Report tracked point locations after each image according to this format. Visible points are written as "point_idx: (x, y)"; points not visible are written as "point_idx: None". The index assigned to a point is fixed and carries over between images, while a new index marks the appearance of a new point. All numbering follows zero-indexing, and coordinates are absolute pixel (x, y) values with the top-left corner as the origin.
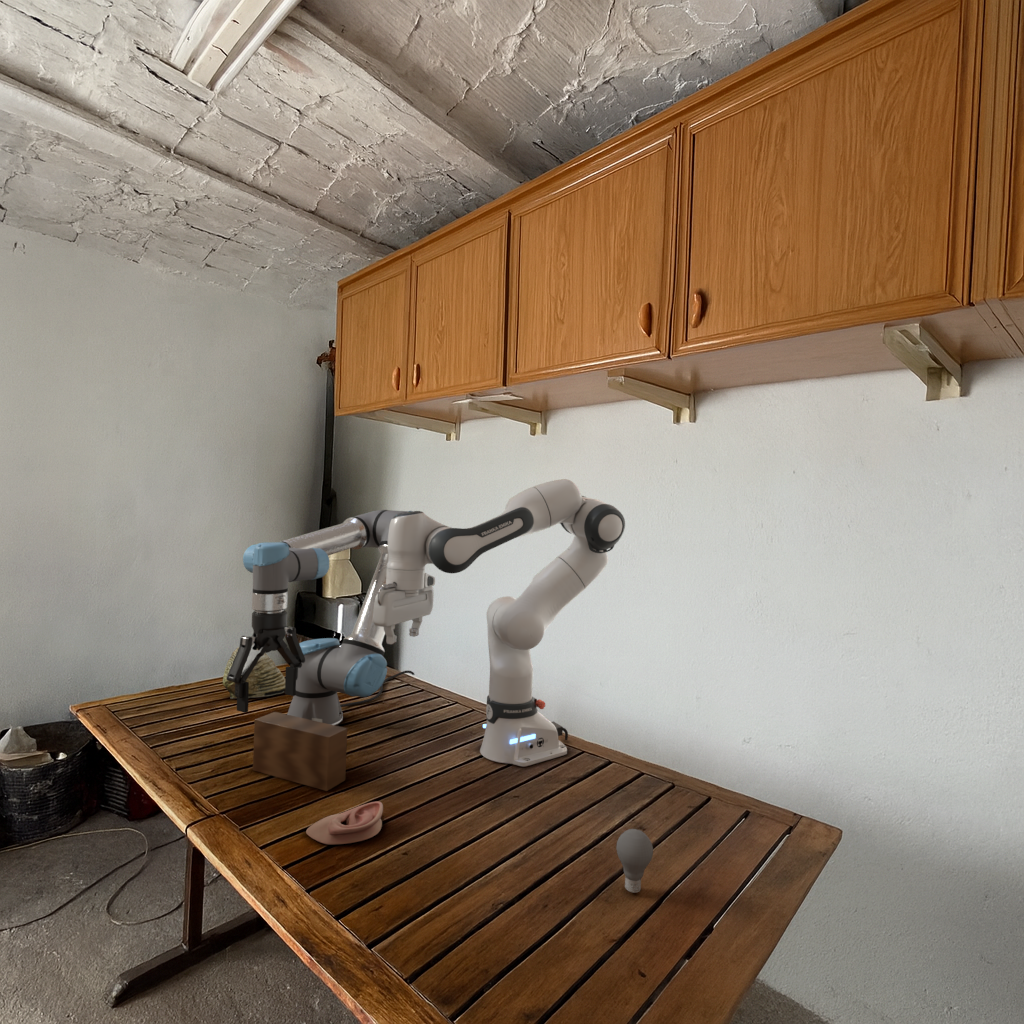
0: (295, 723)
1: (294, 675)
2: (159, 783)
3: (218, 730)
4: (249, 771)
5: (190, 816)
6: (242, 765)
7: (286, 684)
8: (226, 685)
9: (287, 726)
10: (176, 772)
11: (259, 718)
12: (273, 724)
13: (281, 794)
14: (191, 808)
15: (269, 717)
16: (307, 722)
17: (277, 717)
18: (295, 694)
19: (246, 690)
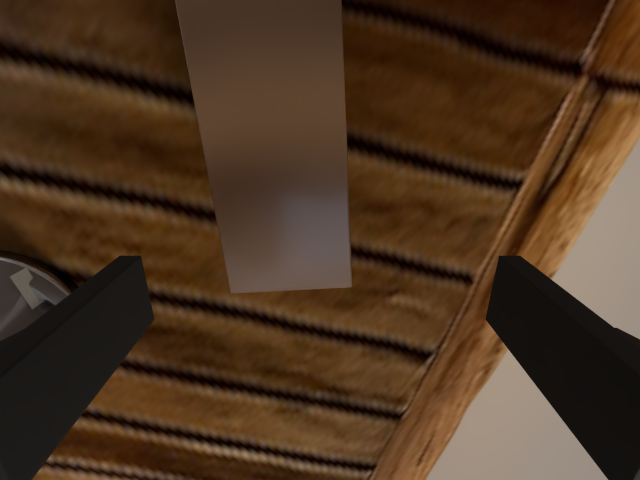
0: (277, 82)
1: (26, 344)
2: None
3: (229, 446)
4: None
5: (620, 128)
6: None
7: (118, 352)
8: None
9: (334, 83)
10: (440, 345)
11: (331, 280)
12: (347, 174)
13: (416, 10)
14: (581, 164)
15: (296, 255)
16: (225, 32)
17: (273, 228)
18: (118, 258)
19: (629, 344)
